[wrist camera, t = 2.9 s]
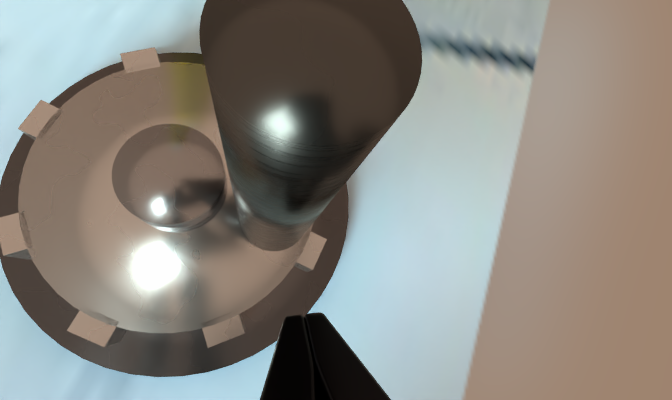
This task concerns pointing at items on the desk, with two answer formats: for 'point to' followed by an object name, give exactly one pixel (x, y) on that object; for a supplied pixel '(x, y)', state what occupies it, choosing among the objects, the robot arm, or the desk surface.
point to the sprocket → (208, 164)
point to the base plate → (168, 348)
